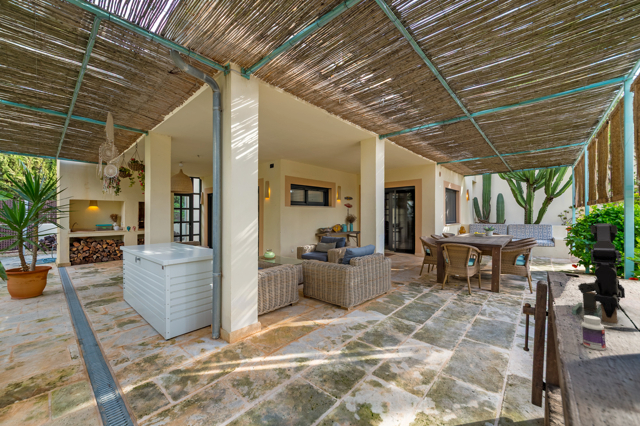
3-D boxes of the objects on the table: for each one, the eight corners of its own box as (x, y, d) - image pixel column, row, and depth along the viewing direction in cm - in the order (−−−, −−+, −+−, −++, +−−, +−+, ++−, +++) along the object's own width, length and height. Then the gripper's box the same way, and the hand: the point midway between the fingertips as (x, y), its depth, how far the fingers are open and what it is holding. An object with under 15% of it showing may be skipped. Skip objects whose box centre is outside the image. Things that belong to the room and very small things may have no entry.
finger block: (603, 319, 109) (601, 299, 109) (617, 322, 106) (616, 302, 106) (602, 321, 107) (600, 301, 108) (617, 324, 104) (615, 303, 104)
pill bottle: (609, 352, 84) (606, 321, 85) (585, 348, 87) (583, 318, 87) (602, 345, 89) (600, 316, 89) (580, 342, 91) (578, 313, 92)
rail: (579, 308, 125) (578, 302, 126) (603, 312, 119) (603, 306, 119) (572, 316, 116) (572, 309, 116) (598, 321, 110) (597, 313, 110)
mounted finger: (584, 307, 124) (583, 290, 124) (597, 309, 120) (595, 292, 121) (583, 309, 122) (582, 291, 122) (596, 311, 119) (594, 293, 119)
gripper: (582, 272, 119) (585, 307, 119) (574, 278, 108) (577, 316, 107) (620, 275, 111) (623, 313, 110) (615, 282, 99) (618, 324, 98)
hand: (609, 316), depth 107 cm, fingers closed on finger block, 3 cm apart
